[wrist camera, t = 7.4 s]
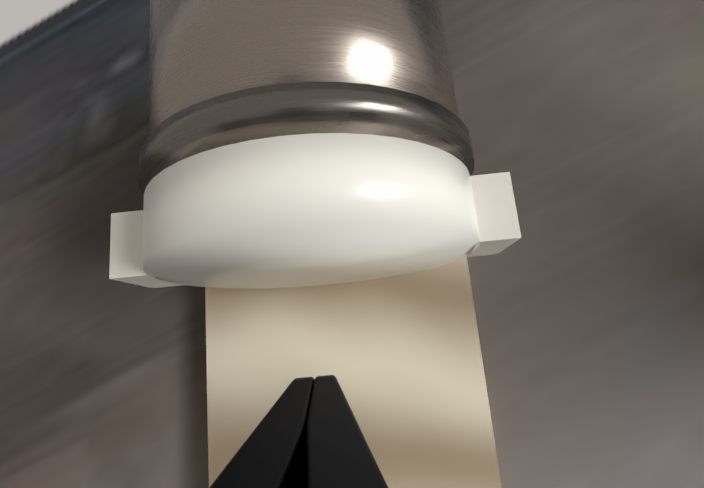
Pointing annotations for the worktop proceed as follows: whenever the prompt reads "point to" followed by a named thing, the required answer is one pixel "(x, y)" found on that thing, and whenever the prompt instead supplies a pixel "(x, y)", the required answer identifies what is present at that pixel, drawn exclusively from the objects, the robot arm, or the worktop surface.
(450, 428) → the birch board
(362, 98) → the cylinder
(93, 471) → the worktop surface
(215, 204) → the white oval slab
